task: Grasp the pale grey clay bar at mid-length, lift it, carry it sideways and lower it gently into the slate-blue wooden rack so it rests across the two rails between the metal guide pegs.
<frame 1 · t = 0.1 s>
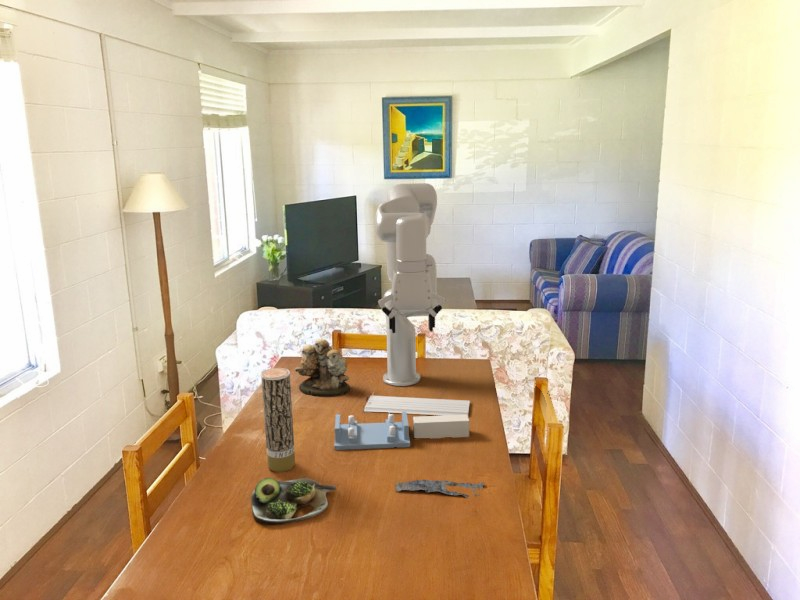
hand: (412, 331, 170), 31 cm above the table, tool pointing down, fingers open, 9 cm apart
driftwood: (438, 491, 154), on the table
salad plate: (286, 505, 149), on the table
owl figurine: (323, 390, 214), on the table
paper tube: (281, 467, 165), on the table
rack: (371, 437, 180), on the table
clay bar: (440, 435, 181), on the table
grooved white panel: (417, 411, 199), on the table
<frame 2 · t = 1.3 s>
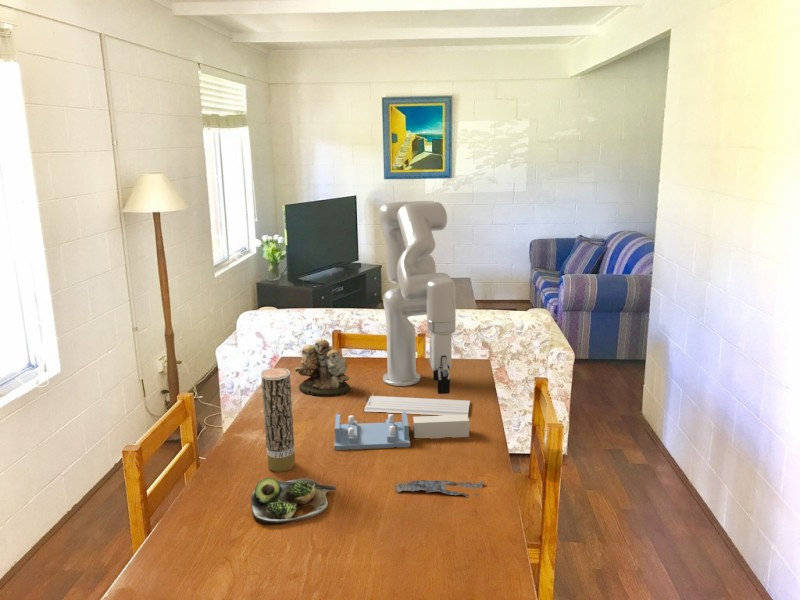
hand: (441, 386, 177), 14 cm above the table, tool pointing down, fingers open, 9 cm apart
nothing on the table moved.
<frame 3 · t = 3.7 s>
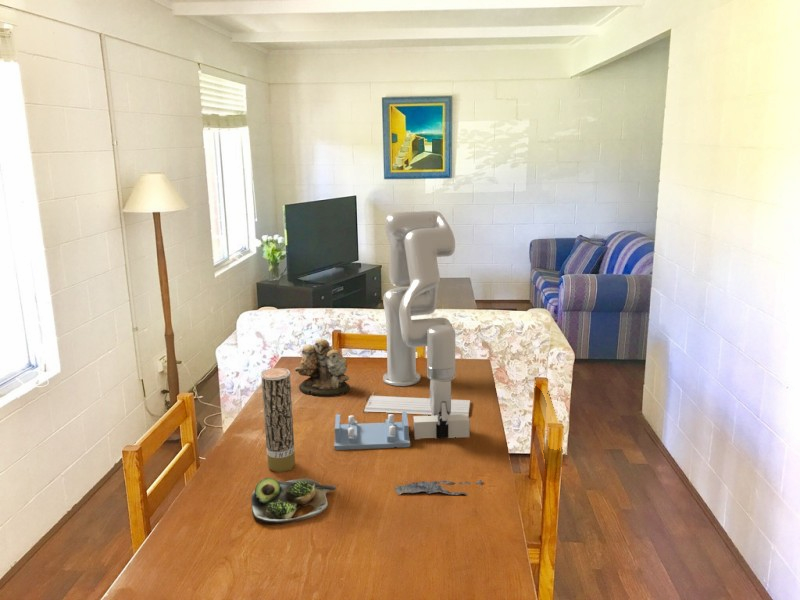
hand: (441, 433, 181), 0 cm above the table, tool pointing down, fingers closed on clay bar, 4 cm apart
clay bar: (441, 434, 181), on the table, touching gripper
everything else where it was.
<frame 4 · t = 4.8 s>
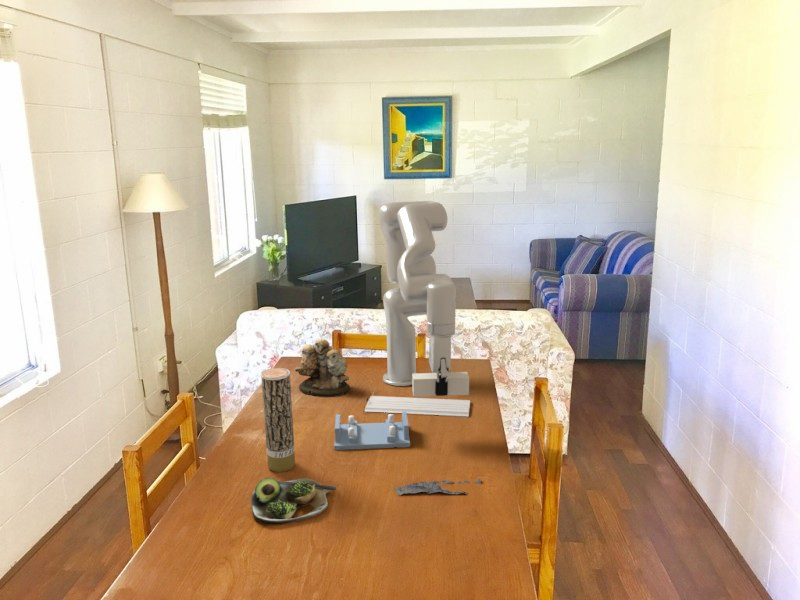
hand: (440, 390, 179), 13 cm above the table, tool pointing down, fingers closed on clay bar, 4 cm apart
clay bar: (440, 392, 179), point 12 cm above the table, touching gripper
everything else where it was.
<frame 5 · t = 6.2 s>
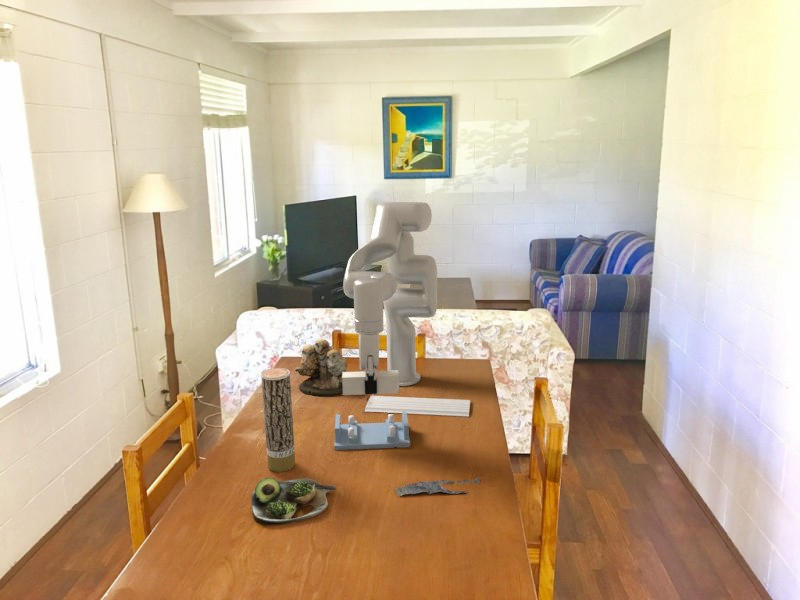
hand: (370, 389, 177), 14 cm above the table, tool pointing down, fingers closed on clay bar, 4 cm apart
clay bar: (370, 391, 177), point 14 cm above the table, touching gripper
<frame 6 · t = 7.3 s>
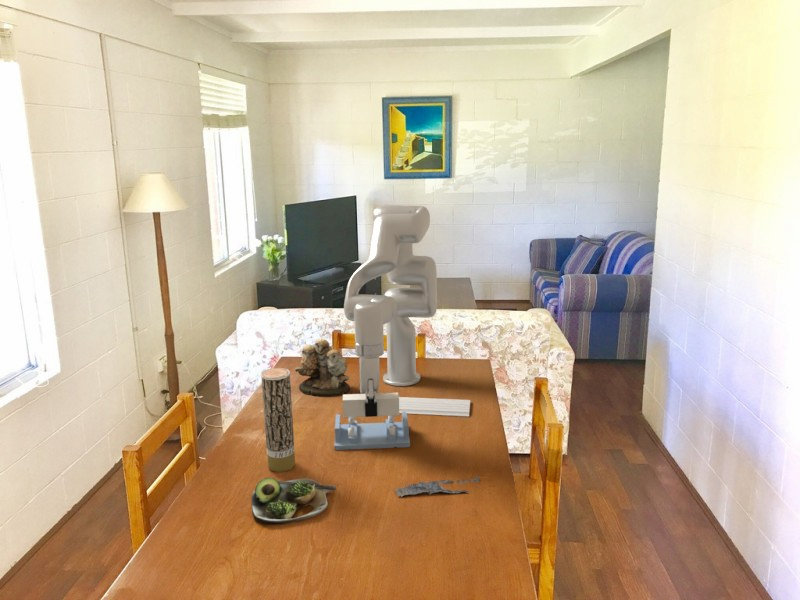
hand: (371, 411, 178), 8 cm above the table, tool pointing down, fingers closed on clay bar, 4 cm apart
clay bar: (371, 413, 178), point 7 cm above the table, touching gripper
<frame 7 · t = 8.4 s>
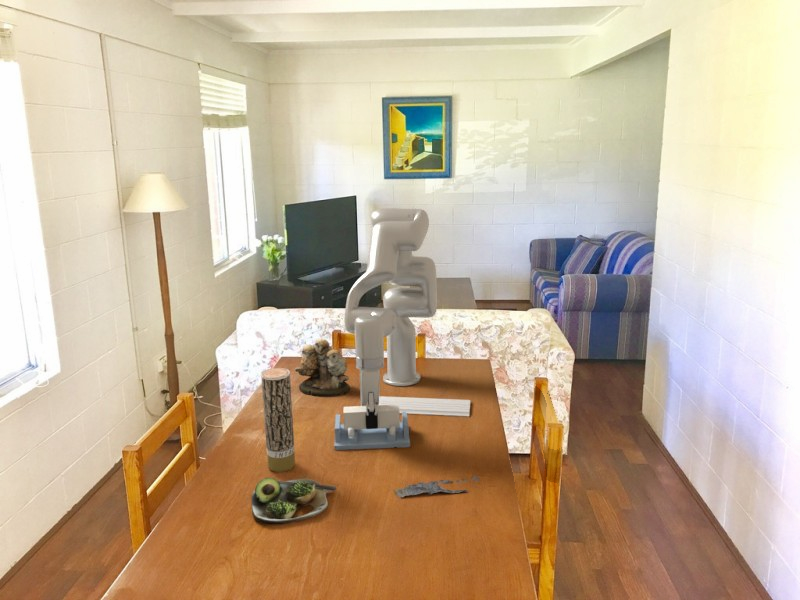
hand: (371, 423, 179), 4 cm above the table, tool pointing down, fingers closed on clay bar, 4 cm apart
clay bar: (371, 425, 179), point 3 cm above the table, touching gripper
when the fingers open (4 cm above the table, at t = 8.7 s): clay bar stays where it is, resting on rack.
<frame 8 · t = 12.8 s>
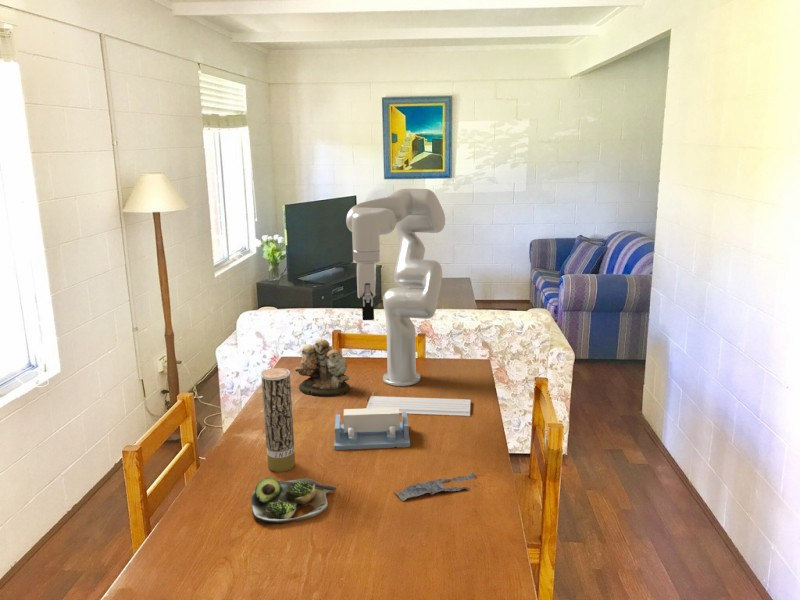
hand: (368, 315, 188), 30 cm above the table, tool pointing down, fingers open, 9 cm apart
clay bar: (371, 428, 180), point 3 cm above the table, touching rack
at the end: clay bar 0.1 cm off-centre on the rack, point 2.7 cm above the rack's base; clay bar tilted 0°; the gripper is holding nothing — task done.
